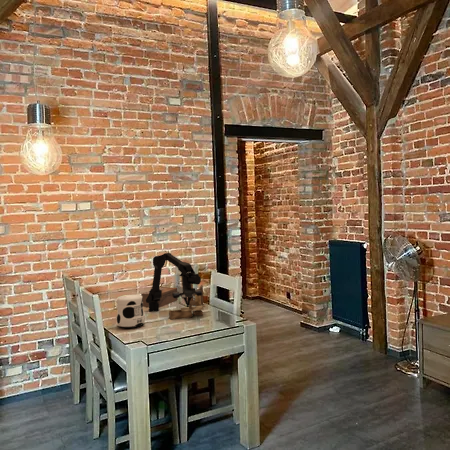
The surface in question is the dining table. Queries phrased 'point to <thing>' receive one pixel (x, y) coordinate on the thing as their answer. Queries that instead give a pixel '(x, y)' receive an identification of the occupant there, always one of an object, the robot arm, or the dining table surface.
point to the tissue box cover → (165, 297)
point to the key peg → (198, 300)
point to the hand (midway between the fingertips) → (187, 307)
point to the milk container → (130, 311)
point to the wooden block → (194, 295)
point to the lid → (192, 308)
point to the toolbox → (183, 314)
